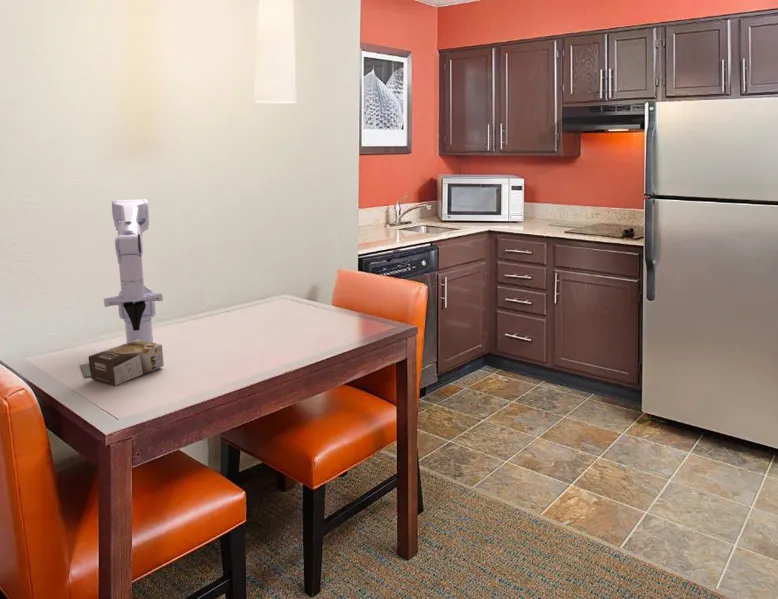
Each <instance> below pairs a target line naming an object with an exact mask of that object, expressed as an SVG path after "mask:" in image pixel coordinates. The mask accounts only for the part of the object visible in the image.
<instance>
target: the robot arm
mask: <svg viewBox="0 0 778 599" xmlns="http://www.w3.org/2000/svg"><path fill="white" fill-rule="evenodd" d="M111 213H112V214H111V215H112V219H113V224H114V227H115V230H116V231H117V236H115V238H114V244H115V245H114V247H115V254H116V258H117V263H118V267H119V270H118V271H119V277H120V278H119V279H120V282H119V283H120V291H119V293H118V295H117V296H111V297H105V298H103V306H104V308H107V307H111V306H118V317H119V318H120V320H123V322H124V326H125V329H124V330H125V337H126V338H125V339H126V343H129V342H131V341H134V340H137V339H140V340H144V341H148V342H152V343H154V335H153V324H152V323H153V322H152V319H153V318H154V317H155V316H156V313H157V312H156V302H163V293H162V292H153V289H151V288H149V287H148V286H146V285H145V282H144V272H143V270H144V269H143V255H144V254H143V253H144V248H143V245H144V244H143V233H144V232H146V231H147V230H149V226H150V221H149V220H150V219H149V218H150V215H149V214H150V213H149V202H148V200H147V198H142V199H113V200H112V201H111Z"/></svg>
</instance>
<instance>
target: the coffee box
mask: <svg viewBox="0 0 778 599" xmlns="http://www.w3.org/2000/svg"><path fill="white" fill-rule="evenodd" d="M88 363H89V368H90V372H91V377H90V378H91V380H94V381H98V382H101V383H104V384H107V385H111V386H114V387H115V386H117V385H120V384H122V383H125V382H128V381H130V380H133V379H135V378H137V377H140V376H143V375H145V374H147V373H149V372H152V371H155V370H157V369H160V368H162V367H164V364H165V362H164V353H163V345H162V344H161V343H160V344H159V343H156V342H153V343H152V342H148V341H144V340H140V339H137V340H134V341H131V342H129V343H127V342H126V343H123V344H120V345H118V346H115V347H114V346H113V347H112V348H109V349H105V350H103V351H100V352H98V353H94V354H92V355H89V356H88Z"/></svg>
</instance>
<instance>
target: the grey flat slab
mask: <svg viewBox="0 0 778 599" xmlns="http://www.w3.org/2000/svg"><path fill="white" fill-rule="evenodd" d="M80 368H81V371H82V373H83V376H84V379H86V378H91V372H90V368H89V362H88V363H81V364H80Z"/></svg>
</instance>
